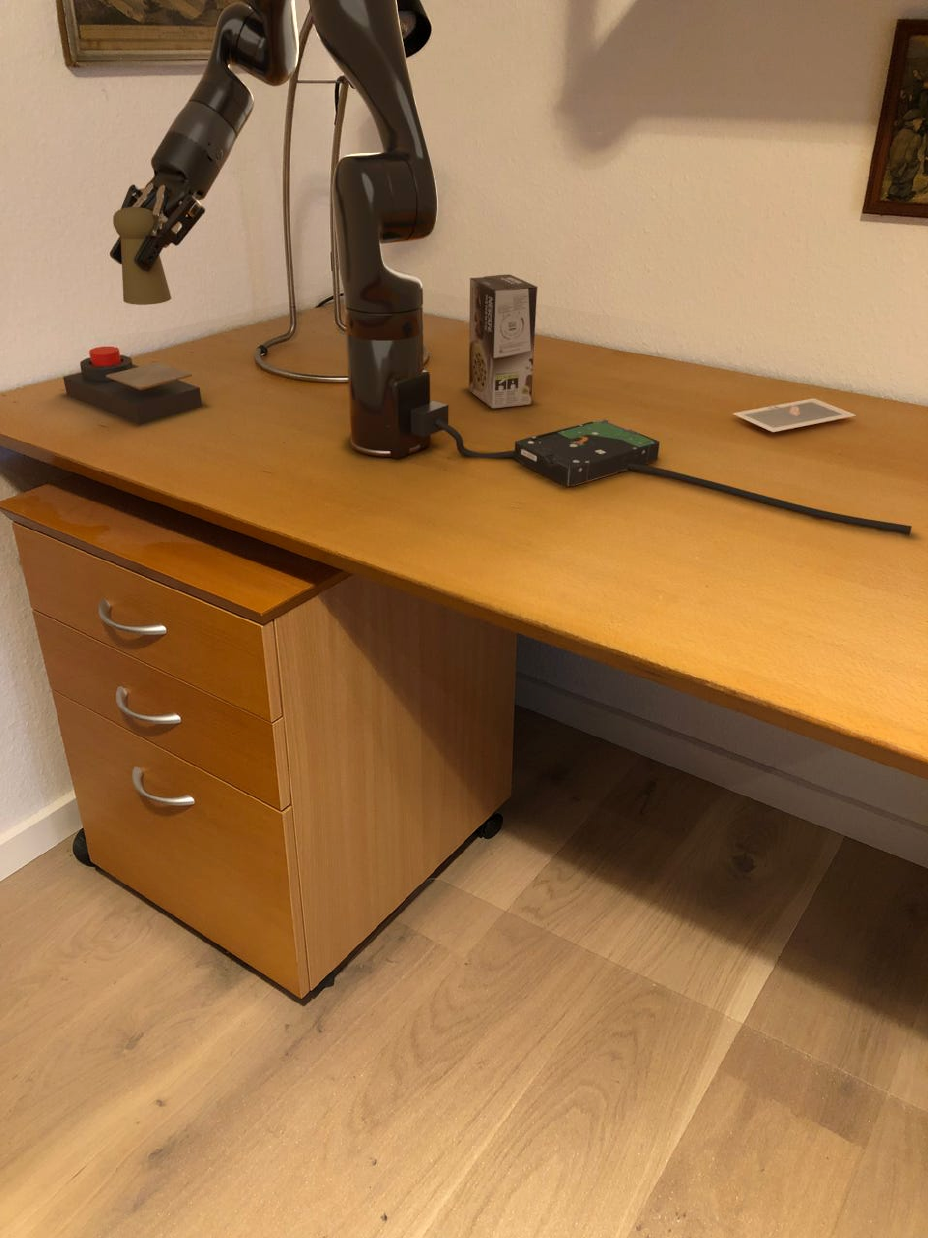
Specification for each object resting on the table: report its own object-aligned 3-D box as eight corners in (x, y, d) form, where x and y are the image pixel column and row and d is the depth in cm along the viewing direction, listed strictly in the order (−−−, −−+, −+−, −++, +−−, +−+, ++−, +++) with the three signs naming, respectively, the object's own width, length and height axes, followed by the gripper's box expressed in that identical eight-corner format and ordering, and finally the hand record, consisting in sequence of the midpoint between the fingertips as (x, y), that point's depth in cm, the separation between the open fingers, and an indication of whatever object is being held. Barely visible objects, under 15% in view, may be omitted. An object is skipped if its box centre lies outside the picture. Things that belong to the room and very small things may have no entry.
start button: (127, 363, 133) (124, 349, 132) (101, 369, 131) (99, 355, 130) (111, 358, 136) (108, 344, 135) (86, 364, 133) (83, 350, 132)
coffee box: (533, 404, 133) (539, 286, 125) (491, 409, 131) (494, 289, 123) (507, 385, 140) (511, 272, 132) (466, 390, 138) (468, 275, 130)
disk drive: (569, 491, 108) (659, 461, 116) (570, 468, 107) (661, 439, 114) (512, 462, 115) (600, 436, 123) (512, 440, 114) (602, 415, 121)
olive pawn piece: (178, 294, 125) (165, 204, 119) (161, 305, 120) (147, 212, 114) (134, 292, 126) (119, 203, 120) (115, 303, 121) (99, 211, 115)
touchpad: (854, 422, 129) (858, 407, 127) (771, 439, 123) (774, 423, 122) (812, 405, 135) (815, 390, 133) (730, 421, 129) (733, 405, 127)
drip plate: (191, 376, 128) (191, 373, 128) (140, 389, 122) (140, 387, 122) (157, 364, 132) (157, 362, 132) (106, 377, 127) (105, 374, 127)
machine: (202, 406, 131) (198, 374, 128) (139, 425, 124) (133, 391, 122) (128, 379, 140) (123, 349, 138) (66, 395, 134) (60, 363, 132)
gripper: (140, 125, 121) (74, 237, 120) (209, 132, 114) (138, 252, 112) (181, 167, 128) (118, 273, 126) (248, 176, 120) (182, 290, 118)
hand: (128, 263), depth 119 cm, fingers closed on olive pawn piece, 4 cm apart
